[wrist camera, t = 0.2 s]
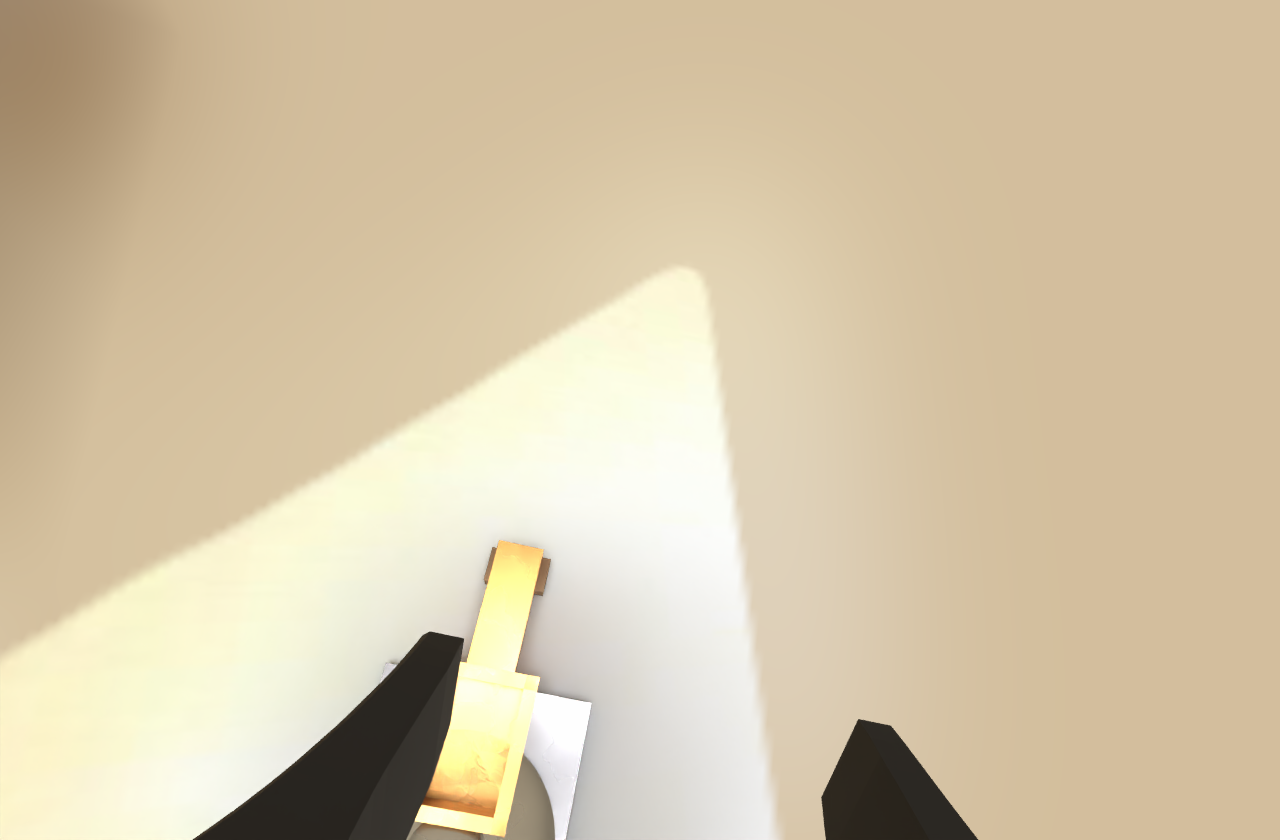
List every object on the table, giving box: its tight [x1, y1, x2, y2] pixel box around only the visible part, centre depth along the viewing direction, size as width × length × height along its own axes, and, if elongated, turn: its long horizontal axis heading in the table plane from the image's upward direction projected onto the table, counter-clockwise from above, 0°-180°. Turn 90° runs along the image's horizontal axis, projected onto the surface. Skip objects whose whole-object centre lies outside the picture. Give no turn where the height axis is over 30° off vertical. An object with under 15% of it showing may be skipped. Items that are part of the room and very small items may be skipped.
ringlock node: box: [380, 540, 592, 840], centre depth 36 cm, size 22×12×5 cm, turn 170°
